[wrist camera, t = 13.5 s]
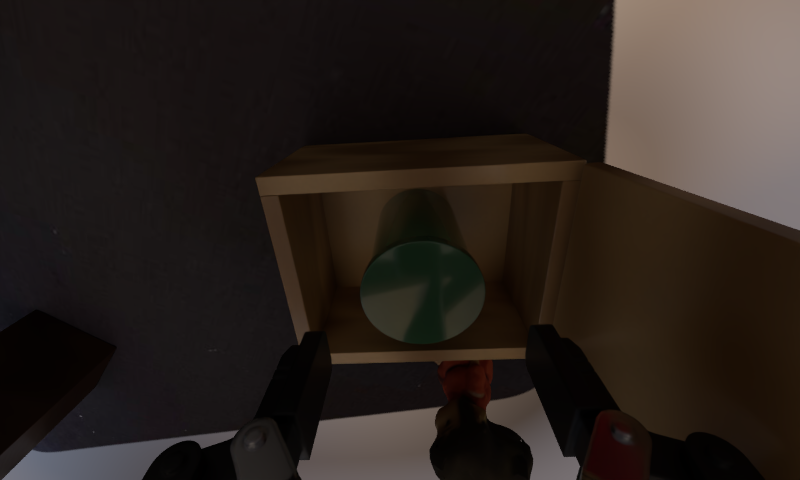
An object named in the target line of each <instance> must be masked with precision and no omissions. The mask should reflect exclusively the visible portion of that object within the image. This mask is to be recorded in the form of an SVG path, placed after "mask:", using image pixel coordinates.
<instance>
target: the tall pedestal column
mask: <svg viewBox="0 0 800 480" xmlns="http://www.w3.org/2000/svg"><path fill="white" fill-rule="evenodd" d="M115 350H116V347H114V346H112V345H110V344H108V343H106V342H104V341H102V340H99V339H97V338H95V337H93V336H91V335H89V334H87V333H85V332H82V331H80V330H78V329H76V328H74V327H72V326H70V325H68V324H65V323H63V322H61V321H59V320H57V319H55V318H53V317H51V316H48V315H46V314H44V313H42V312H40V311H38V310H35V311H33V312H32V313H30V314H28V315H27V316H25V317H24V318H22V319H20V320H19V321H17V322H16V323H14V324H12V325H11V326H9V327H7V328H6V329H4V330H3V331H1V332H0V480H2V479H3V478H4V477H5V476H6V475H7V474H8V473H9V472H10V471H11V470H12V469H13V468H14V467H15V466H16V465H17V464H18V463H19V462H20V461H21V460H22V459H23V458H24V457H25V456H26V455H27V454H28V453H29V452H30V451H31V450H32V449H33V448H34V447H35V446H36V445H37V444H38V443H39V442H40V441H41V440H42V439H43V438H44V437H45V436H46V435H47V434H48V433H49V432H50V431H51V430H52V429H53V428H54V427H55V426H56V425H57V424H58V423H59V422H60V421H61V420H62V419H63V418H64V417H65V416H66V415H67V414H68V413H69V412H71V411H72V410H73V409H74V408H75V407H76V406H77V405H78V404H79V403H80V402H81V401H82V400H83V399H84V398H85V397H86V396H87V395H88V394H89V393H90V392H91V391H92V390H93V389H94V388H95V386H96V384H97V383H98V381H99V379H100V377H101V375H102V373H103V372H104V370H105V368H106V366H107V364H108V362H109V361H110V359H111V357H112V355H113V353H114V351H115Z"/></svg>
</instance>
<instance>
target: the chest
mask: <svg viewBox="0 0 800 480" xmlns="http://www.w3.org/2000/svg"><path fill="white" fill-rule="evenodd" d="M586 161H587V160H585V159H583V158H581V157H578V156H576V155H574V154H572V153H569V152H567V151H565V150H563V149H560V148H558V147H556V146H554V145H551V144H549V143H547V142H545V141H542V140H540V139H538V138H536V137H533V136H531V135H528V134H526V133H524V134H506V135H488V136H471V137H453V138H435V139H417V140H399V141H381V142H363V143H346V144H328V145H310V146H303V147H302V148H300V149H298V150H297V151H295V152H294V153H292V154H291V155H289V156H288V157H286V158H285V159H283V160H281V161H280V162H278V163H277V164H275V165H274V166H272V167H271V168H269V169H268V170H266V171H264V172H263V173H261V174H260V175H258V176H257V177H255V179H256V183H257V187H258V190H259V194H260V196H261V197H260V198H261V201H262V205H263V209H264V213H265V217H266V221H267V225H268V228H269V232H270V236H271V240H272V244H273V248H274V251H275V255H276V259H277V263H278V267H279V271H280V275H281V278H282V282H283V286H284V290H285V294H286V298H287V301H288V305H289V309H290V313H291V317H292V321H293V325H294V328H295V332H296V336H297V340H298V344H299V345H300V343H301V340H302V338H303V335H304V333H305V332H306V331H325V332H326V335H327V339H328V344H329V349H330V354H331V359H332V364H352V363H386V362H421V361H456V360H491V359H525V352H526V346H527V340H528V333H529V328H530V325H538V324H552V325H553V322H554V317H555V312H556V306H557V301H558V296H559V291H560V286H561V281H562V276H563V271H564V266H565V261H566V255H567V250H568V245H569V240H570V235H571V230H572V225H573V220H574V215H575V209H576V204H577V199H578V194H579V189H580V184H581V179H582V174H583V169H584V165H585V164H586ZM411 189H425V190H429V191H432V192H435V193H437V194H439V195H440V196H442V197H443V198H444V199H445V200H446V201H447V202H448V203H449V204H450V205H451V207H452V209H453V211H454V213H455V216H456V219H457V222H458V224H459V227H460V230H461V233H462V235H463V238H464V241H465V243H466V246H467V249H468V252H469V253H470V254H471V255H472V257H473V258H474V259H475V260H476V262H477V264H478V265H479V267H480V270H481V272H482V275H483V277H484V281H485V286H486V296H485V301H484V305H483V308H482V310H481V312H480V314H479V316H478V317H477V319H476V320H475V321H474V322H473V323H472V324H471V325H470V326H469V327H468V328H467V329H466V330H464V331H463V332H462V333H460V334H458V335H457V336H455V337H452V338H450V339H448V340H445V341H442V342H437V343H431V344H412V343H406V342H402V341H399V340H396V339H393V338H391V337H389V336H387V335H385V334H384V333H382V332H381V331H379V330H378V329H377V328H376V327H375V326H374V325H373V324H372V323H371V322H370V321H369V319H368V318H367V316H366V315H365V312H364V310H363V308H362V305H361V300H360V286H361V281H362V276H363V274H364V271H365V269H366V267H367V265H368V263H369V262H370V260H371V257H372V251H373V246H374V241H375V236H376V231H377V226H378V221H379V216H380V213H381V211H382V209H383V207H384V206H385V204H386V203H387V202H388V201H389V200H390V199H391V198H392V197H394V196H395V195H397V194H399V193H401V192H403V191H407V190H411Z"/></svg>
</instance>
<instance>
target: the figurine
mask: <svg viewBox="0 0 800 480" xmlns="http://www.w3.org/2000/svg"><path fill="white" fill-rule="evenodd" d="M434 362H435V363H437V364H438V365H439V367H438V379H439V381H440V383H441V384H442V385H443V390H444V392H445V394H446V396H447V398H448V401H449V402H448V404H447V405H445V406H444V407H442V408H440V409H439V410H438V412H437V414H436V419H435V426H436V428H437V432H438V433H437V437H436V439H435V441H434V443H433V445H432V446H431V448H430V460H431V463H432V466H433V469H434V471H435V473H436V475H437V476H438V478H439V479H440V480H530V474H531V471H532V466H533V457H532V454H531V450H530V447H529V445H528V444H526V443H525V442H524V440H523V439H522V438H521V437H520V436H519V435H518V434H517V433H515V432H514V431H513V430H511V429H509V428H507V427H504V426H501V425H497V424H495V423H492V422H490V421H489V420H488V419H487V416H486V406H487V404H488V403H489V402H490V397H491V387H490V383H491V381H492V375H493V363H492V359H491V360H456V361H434ZM520 440H522V442H521V441H520Z"/></svg>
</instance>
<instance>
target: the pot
mask: <svg viewBox="0 0 800 480" xmlns="http://www.w3.org/2000/svg"><path fill="white" fill-rule="evenodd" d="M485 296H486V286H485V281H484V277H483V275H482V272H481V270H480V267H479V265H478V264H477V262H476V260H475V259H474V258H473V257H472V255H471V254H470V253H469V252H468V249H467V246H466V243H465V241H464V238H463V235H462V233H461V230H460V227H459V224H458V222H457V219H456V216H455V213H454V211H453V209H452V207H451V205H450V204H449V203H448V202H447V201H446V200H445V199H444V198H443V197H442V196H440V195H439V194H437V193H435V192H432V191H429V190H425V189H411V190H407V191H403V192H401V193H399V194H397V195H395V196H394V197H392V198H391V199H390V200H389V201H388V202H387V203H386V204H385V206H384V207H383V209H382V211H381V213H380V216H379V221H378V226H377V231H376V236H375V241H374V246H373V251H372V257H371V260H370V262H369V263H368V265H367V267H366V269H365V271H364V274H363V276H362V281H361V286H360V300H361V305H362V308H363V310H364V312H365V315H366V316H367V318H368V319H369V321H370V322H371V323H372V324H373V325H374V326H375V327H376V328H377V329H378V330H379V331H381V332H382V333H384V334H385V335H387V336H389V337H391V338H393V339H396V340H399V341H402V342H406V343H412V344H431V343H437V342H442V341H445V340H448V339H450V338H452V337H455V336H457V335H458V334H460V333H462V332H463V331H464V330H466V329H467V328H468V327H469V326H470V325H471V324H472V323H473V322H474V321H475V320H476V319H477V317H478V316H479V314H480V312H481V310H482V308H483V305H484V301H485Z"/></svg>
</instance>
